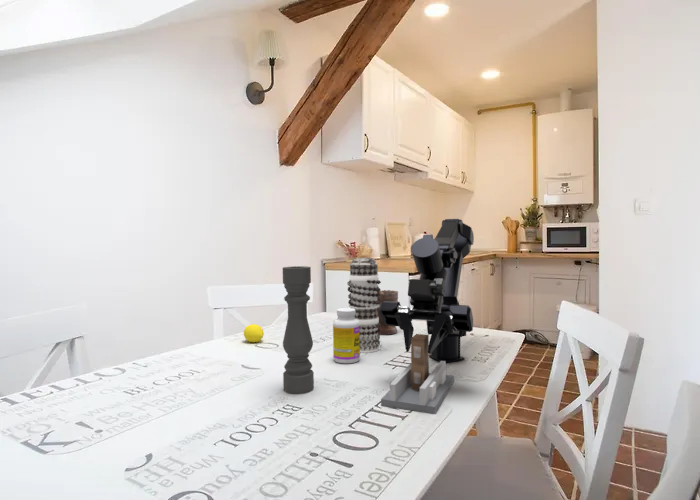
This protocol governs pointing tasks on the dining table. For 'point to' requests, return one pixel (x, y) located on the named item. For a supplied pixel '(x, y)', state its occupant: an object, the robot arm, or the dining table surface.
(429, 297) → the robot arm
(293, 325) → the candle holder
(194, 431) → the dining table surface
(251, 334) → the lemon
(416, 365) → the brown wooden block
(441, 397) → the grey long channel piece
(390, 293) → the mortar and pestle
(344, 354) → the supplement bottle
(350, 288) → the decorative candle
